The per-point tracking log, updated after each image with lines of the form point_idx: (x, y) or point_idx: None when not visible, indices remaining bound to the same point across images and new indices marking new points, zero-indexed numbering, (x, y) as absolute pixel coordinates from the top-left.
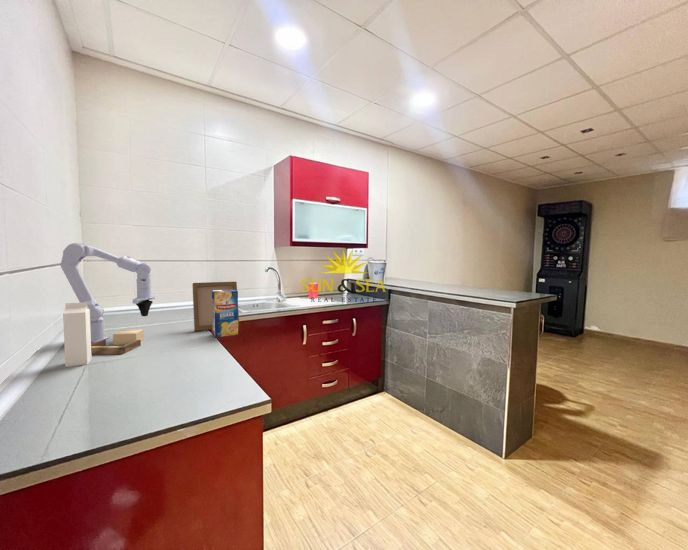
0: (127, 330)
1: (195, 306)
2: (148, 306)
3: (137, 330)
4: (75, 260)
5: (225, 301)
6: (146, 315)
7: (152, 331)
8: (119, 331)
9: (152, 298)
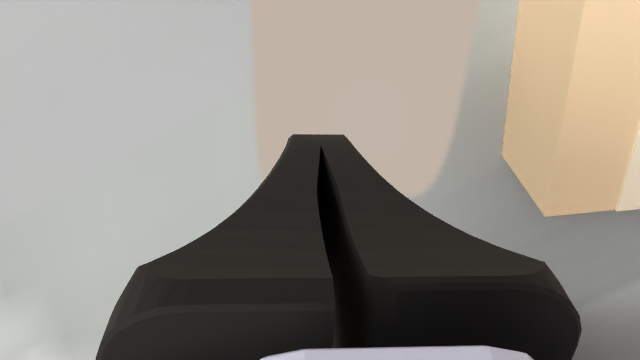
0: (590, 148)
1: None
2: (318, 232)
3: (634, 23)
4: None
5: None
6: (337, 137)
7: (135, 55)
8: (630, 198)
9: (447, 357)
